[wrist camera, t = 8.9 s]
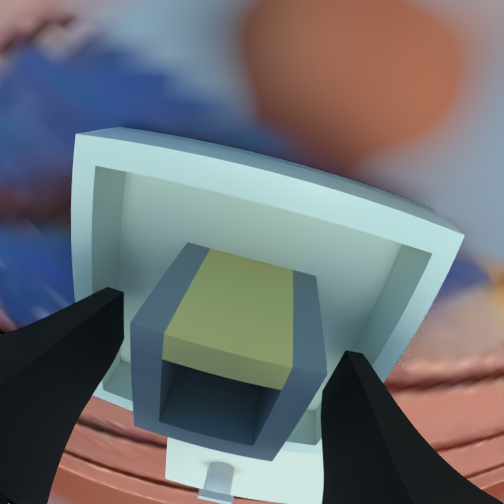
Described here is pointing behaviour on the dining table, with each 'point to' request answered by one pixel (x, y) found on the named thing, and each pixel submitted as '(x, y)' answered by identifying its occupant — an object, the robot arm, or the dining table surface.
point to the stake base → (246, 474)
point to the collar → (227, 353)
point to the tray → (254, 241)
